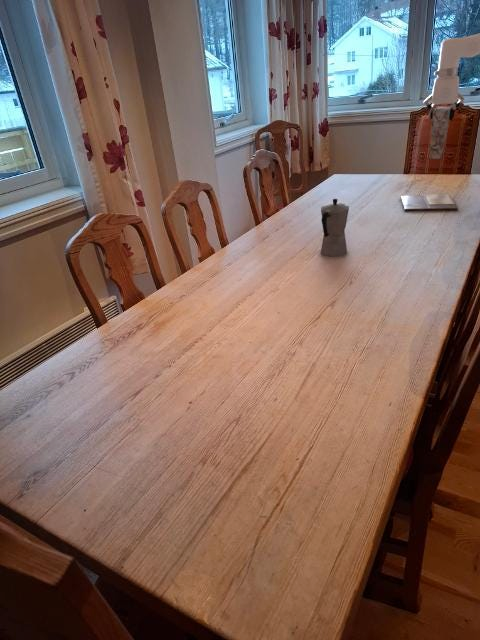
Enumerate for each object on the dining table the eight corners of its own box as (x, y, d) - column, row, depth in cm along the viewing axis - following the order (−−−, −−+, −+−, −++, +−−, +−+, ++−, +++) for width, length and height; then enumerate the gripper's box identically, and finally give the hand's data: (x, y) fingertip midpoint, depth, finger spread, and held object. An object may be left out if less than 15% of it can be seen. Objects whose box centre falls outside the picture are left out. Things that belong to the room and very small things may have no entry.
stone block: (444, 159, 188) (451, 108, 178) (427, 159, 191) (433, 110, 181) (444, 153, 198) (451, 105, 188) (428, 153, 201) (434, 106, 191)
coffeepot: (329, 243, 153) (330, 192, 144) (354, 246, 148) (357, 194, 139) (309, 258, 143) (309, 205, 134) (335, 263, 138) (337, 207, 129)
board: (448, 196, 188) (449, 194, 188) (457, 210, 172) (458, 207, 171) (400, 198, 193) (400, 195, 192) (404, 211, 176) (404, 208, 176)
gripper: (425, 76, 177) (420, 123, 186) (472, 71, 173) (464, 120, 182) (423, 75, 183) (419, 120, 192) (468, 71, 179) (461, 117, 188)
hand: (441, 120), depth 187 cm, fingers closed on stone block, 6 cm apart
